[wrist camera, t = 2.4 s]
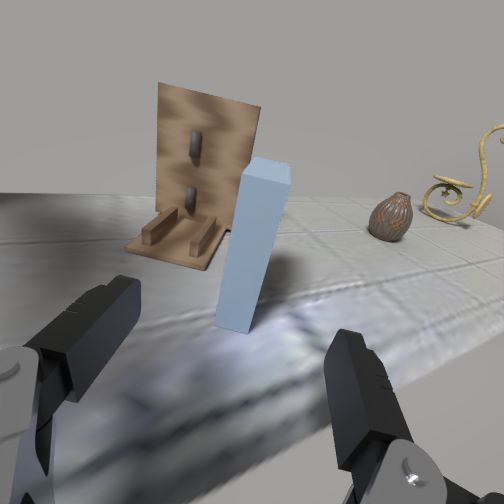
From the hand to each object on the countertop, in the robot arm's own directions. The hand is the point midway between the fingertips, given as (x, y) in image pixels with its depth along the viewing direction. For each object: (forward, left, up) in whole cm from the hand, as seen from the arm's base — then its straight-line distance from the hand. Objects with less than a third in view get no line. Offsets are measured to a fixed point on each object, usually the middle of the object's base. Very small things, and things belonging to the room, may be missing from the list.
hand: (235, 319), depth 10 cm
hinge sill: (-9, +20, -9) cm, 24 cm away
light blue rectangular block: (0, +11, -9) cm, 15 cm away
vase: (+24, +40, -9) cm, 48 cm away
